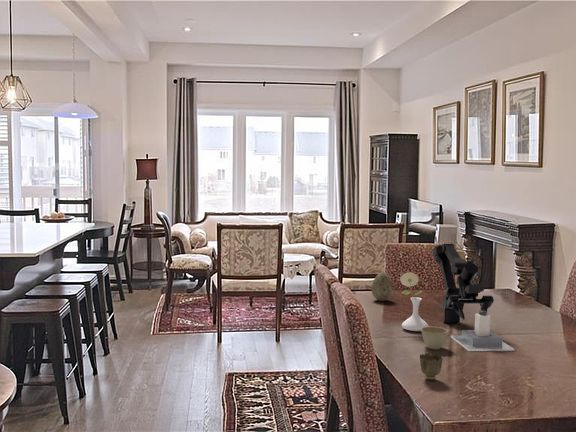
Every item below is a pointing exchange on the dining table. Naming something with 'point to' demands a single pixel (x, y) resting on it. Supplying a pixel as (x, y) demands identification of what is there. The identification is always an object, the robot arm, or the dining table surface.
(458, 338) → the grey square frame
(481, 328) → the plug
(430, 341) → the flower pot
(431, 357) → the cup
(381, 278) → the decorative egg
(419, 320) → the flower in vase
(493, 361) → the dining table surface
